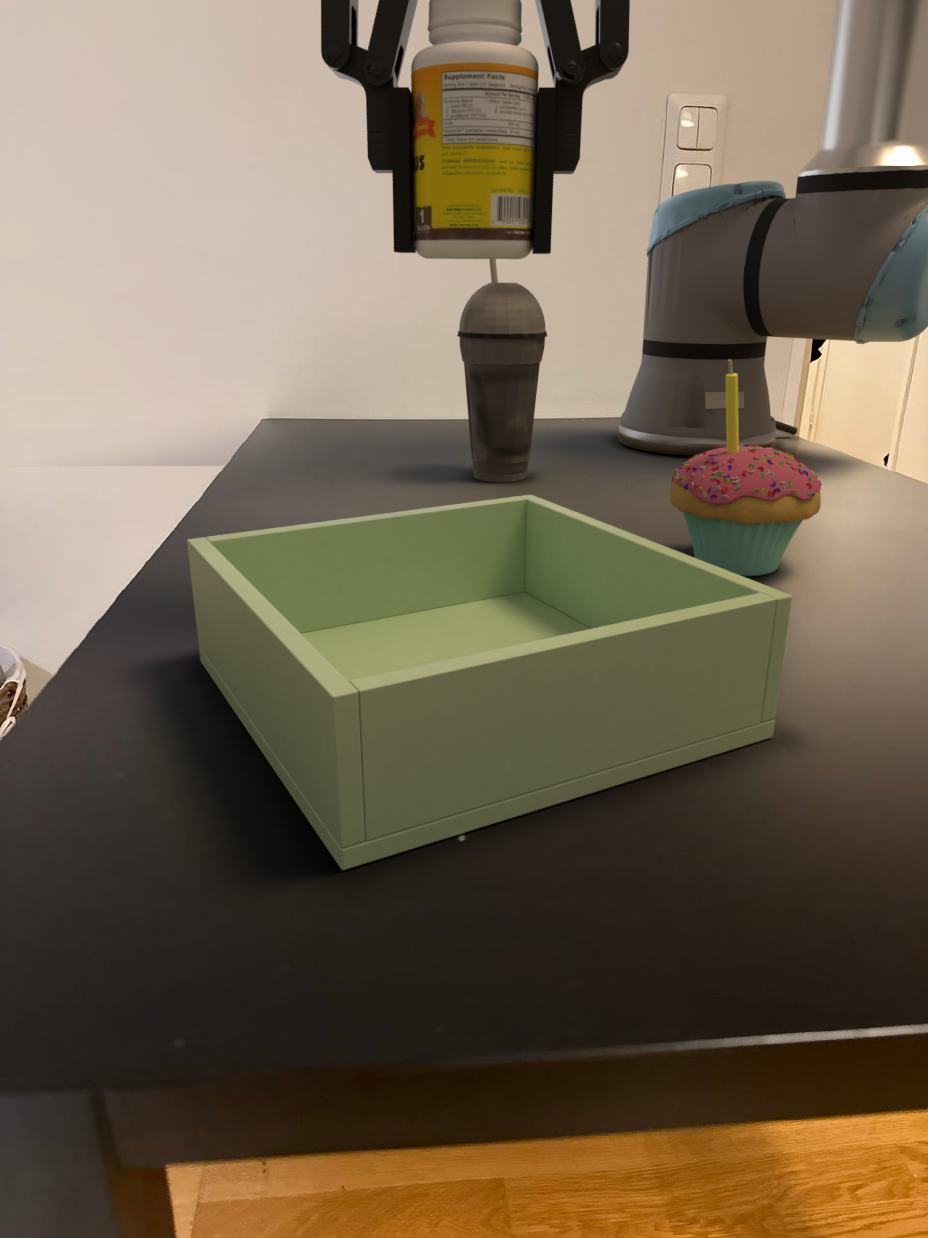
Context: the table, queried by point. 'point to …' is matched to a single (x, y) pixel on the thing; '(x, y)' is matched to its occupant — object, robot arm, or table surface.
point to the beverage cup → (501, 376)
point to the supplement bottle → (474, 133)
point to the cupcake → (743, 499)
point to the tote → (477, 663)
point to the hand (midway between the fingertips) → (472, 251)
